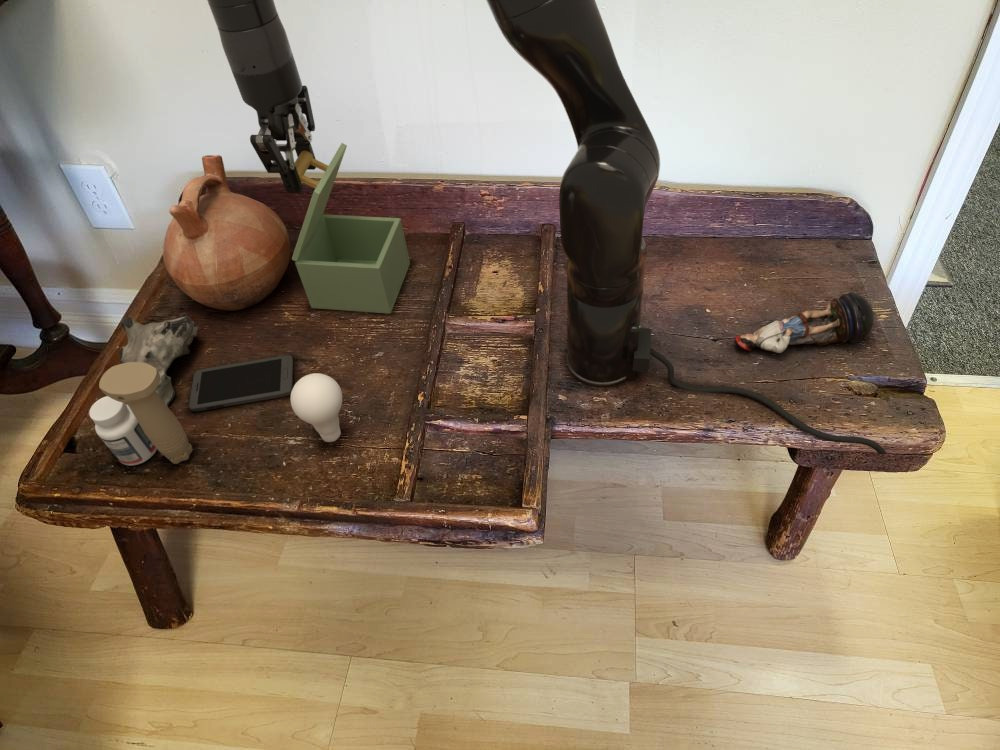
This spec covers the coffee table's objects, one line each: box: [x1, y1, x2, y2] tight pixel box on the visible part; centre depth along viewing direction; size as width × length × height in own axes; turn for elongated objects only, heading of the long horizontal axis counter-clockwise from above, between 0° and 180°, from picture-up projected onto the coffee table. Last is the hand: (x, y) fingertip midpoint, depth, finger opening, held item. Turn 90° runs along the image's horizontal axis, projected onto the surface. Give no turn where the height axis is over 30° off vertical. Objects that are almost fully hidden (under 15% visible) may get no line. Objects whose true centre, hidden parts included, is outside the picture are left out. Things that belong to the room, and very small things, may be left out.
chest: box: [294, 214, 411, 314], centre depth 110 cm, size 13×12×9 cm
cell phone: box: [188, 354, 294, 413], centre depth 101 cm, size 7×14×1 cm, turn 99°
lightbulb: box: [289, 372, 343, 443], centre depth 90 cm, size 6×6×11 cm
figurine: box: [734, 292, 875, 354], centre depth 98 cm, size 8×7×18 cm
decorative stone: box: [118, 312, 200, 408], centre depth 101 cm, size 16×9×10 cm, turn 178°
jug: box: [162, 154, 291, 312], centre depth 108 cm, size 18×18×20 cm
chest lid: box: [291, 142, 348, 263], centre depth 102 cm, size 14×12×5 cm
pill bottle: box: [88, 395, 158, 467], centre depth 92 cm, size 5×5×9 cm
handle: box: [98, 362, 194, 465], centre depth 88 cm, size 5×6×15 cm
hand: (302, 179), depth 100 cm, fingers closed on chest lid, 5 cm apart
